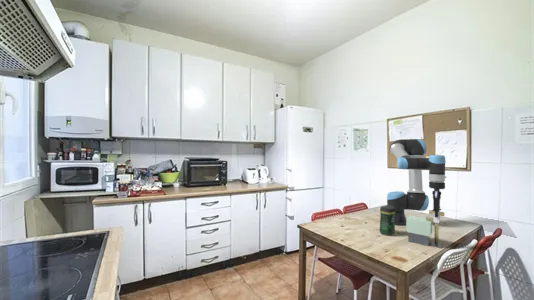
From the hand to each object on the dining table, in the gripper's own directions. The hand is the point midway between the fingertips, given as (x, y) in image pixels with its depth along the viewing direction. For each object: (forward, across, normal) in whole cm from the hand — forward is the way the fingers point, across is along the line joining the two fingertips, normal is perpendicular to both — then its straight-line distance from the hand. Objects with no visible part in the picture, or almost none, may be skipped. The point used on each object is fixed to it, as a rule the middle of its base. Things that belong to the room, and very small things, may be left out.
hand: (436, 221), depth 133 cm
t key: (+13, 0, +1) cm, 13 cm away
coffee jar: (+14, +3, +26) cm, 30 cm away
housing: (+14, 0, +6) cm, 15 cm away
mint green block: (+8, 0, +8) cm, 12 cm away
